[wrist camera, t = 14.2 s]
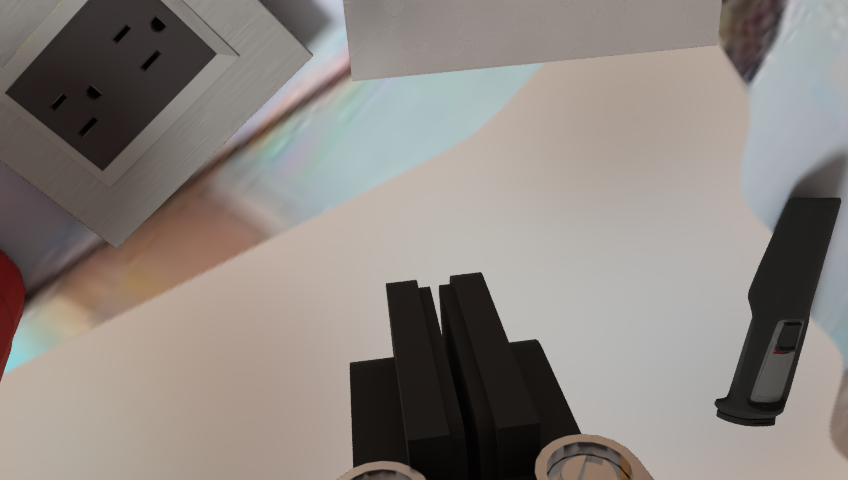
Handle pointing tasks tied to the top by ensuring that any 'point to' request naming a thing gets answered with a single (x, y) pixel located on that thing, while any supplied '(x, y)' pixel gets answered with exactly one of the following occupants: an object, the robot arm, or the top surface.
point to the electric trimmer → (780, 312)
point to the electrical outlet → (131, 96)
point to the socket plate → (515, 32)
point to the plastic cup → (9, 306)
